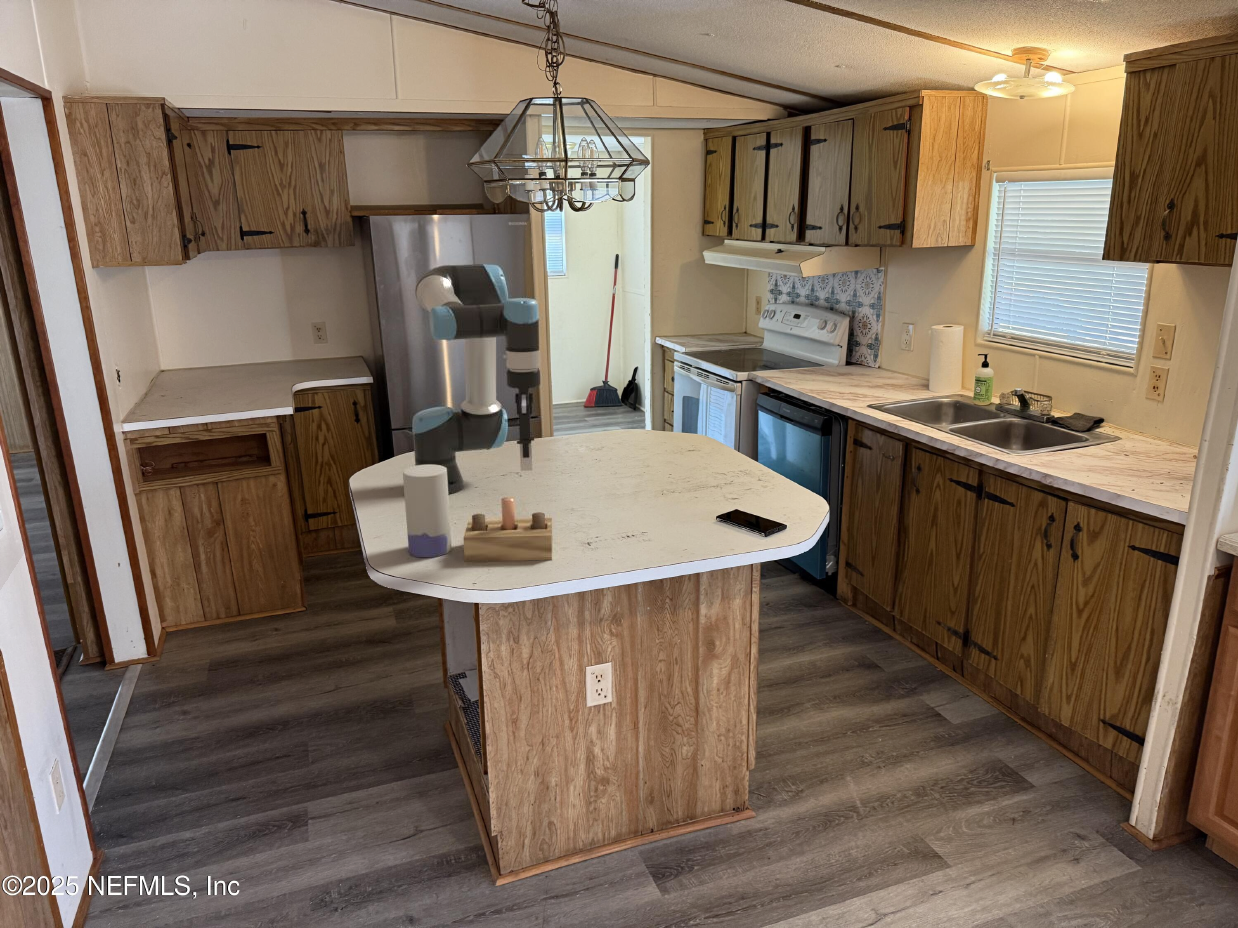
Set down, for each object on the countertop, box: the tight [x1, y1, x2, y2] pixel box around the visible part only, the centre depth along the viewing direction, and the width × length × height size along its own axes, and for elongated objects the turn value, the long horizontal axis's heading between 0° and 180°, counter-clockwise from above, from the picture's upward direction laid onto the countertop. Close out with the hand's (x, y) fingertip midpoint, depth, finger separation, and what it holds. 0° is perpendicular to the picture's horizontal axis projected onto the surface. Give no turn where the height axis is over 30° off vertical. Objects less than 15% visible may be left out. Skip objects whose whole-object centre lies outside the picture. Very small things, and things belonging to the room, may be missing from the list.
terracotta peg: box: [501, 496, 516, 530], centre depth 202 cm, size 3×3×8 cm
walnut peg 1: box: [471, 513, 486, 531], centre depth 203 cm, size 3×3×8 cm
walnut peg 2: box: [531, 511, 546, 530], centre depth 204 cm, size 3×3×8 cm
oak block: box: [462, 517, 553, 563], centre depth 204 cm, size 12×20×6 cm, turn 94°
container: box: [402, 465, 453, 558], centre depth 203 cm, size 10×10×20 cm
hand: (526, 469), depth 200 cm, fingers closed
